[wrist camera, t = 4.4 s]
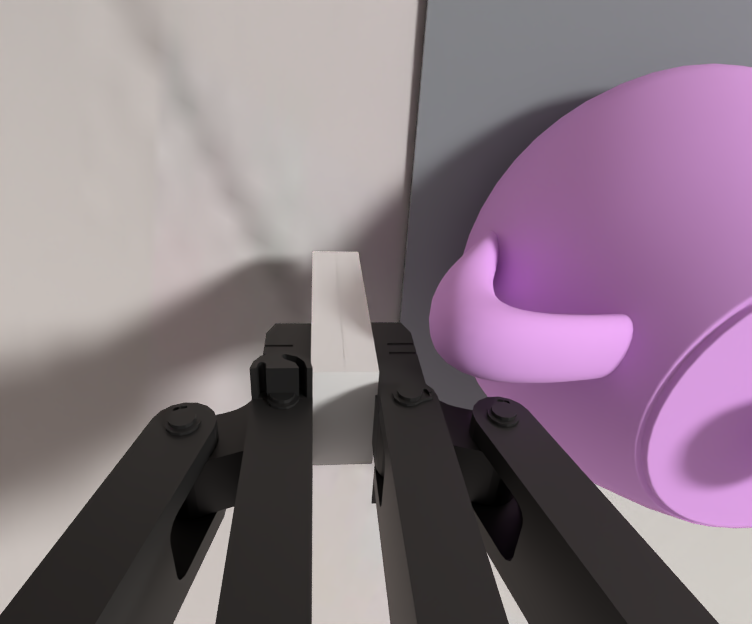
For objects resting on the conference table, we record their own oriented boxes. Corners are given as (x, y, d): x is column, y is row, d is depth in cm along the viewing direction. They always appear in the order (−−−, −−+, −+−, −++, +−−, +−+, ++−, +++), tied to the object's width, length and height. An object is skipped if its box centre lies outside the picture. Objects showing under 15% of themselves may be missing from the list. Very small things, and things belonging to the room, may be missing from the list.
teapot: (747, 433, 26) (989, 672, 16) (344, 365, 21) (365, 638, 12) (970, 151, 19) (1571, 283, 10) (461, -26, 15) (690, -80, 6)
